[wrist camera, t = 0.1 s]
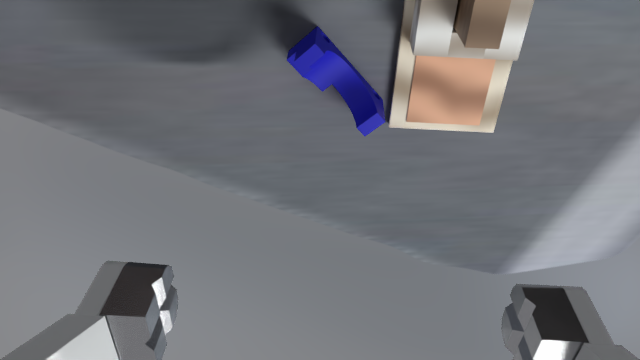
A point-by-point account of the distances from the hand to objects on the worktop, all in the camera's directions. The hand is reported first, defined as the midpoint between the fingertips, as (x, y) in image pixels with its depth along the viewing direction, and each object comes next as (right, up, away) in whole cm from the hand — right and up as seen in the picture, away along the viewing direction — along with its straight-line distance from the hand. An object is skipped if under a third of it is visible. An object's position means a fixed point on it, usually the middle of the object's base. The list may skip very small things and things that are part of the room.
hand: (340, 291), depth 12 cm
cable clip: (+2, +15, +48) cm, 51 cm away
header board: (+15, +18, +45) cm, 51 cm away
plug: (+15, +22, +41) cm, 49 cm away
